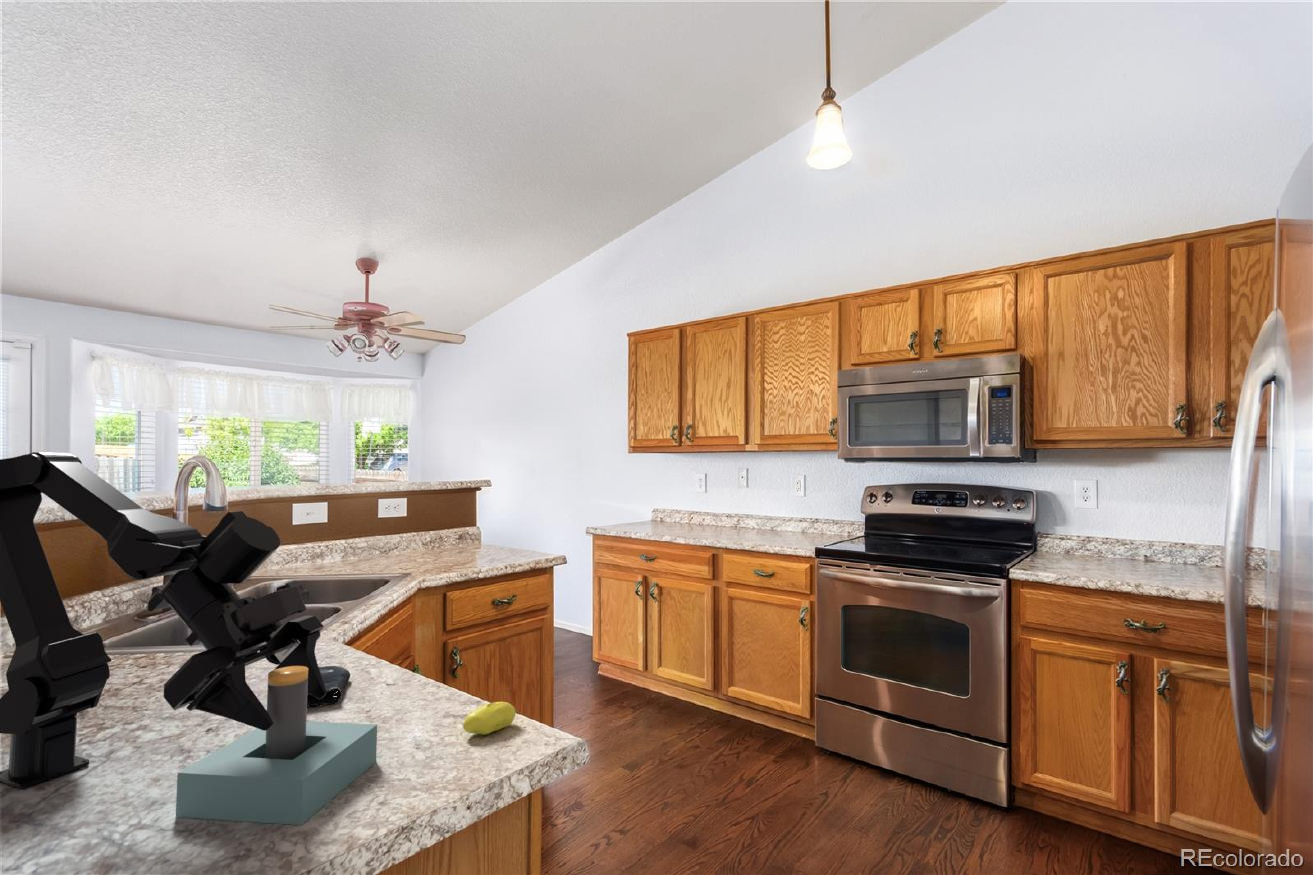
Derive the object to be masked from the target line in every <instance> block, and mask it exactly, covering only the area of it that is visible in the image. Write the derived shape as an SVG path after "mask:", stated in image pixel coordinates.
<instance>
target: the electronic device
mask: <svg viewBox="0 0 1313 875" xmlns="http://www.w3.org/2000/svg"><path fill="white" fill-rule="evenodd" d="M318 667H319V670H320V673H321V676H322V679H323V682H324V685H325V688H326V691H327V693H328V692H331V691H333V690H335V689H336V691H338V692H337V693H335V694H334V692H333V694H332V696H337V697H333V698H332V701H331V702H330V703H328V701H327V702H326V701H325V702H321V701H319V702H317V703H314V702H310V703H308V704H307V709H309V708H310V709H311V708H312V709H313V708H317V707H321V706H320V705H323V706H324V705H325V704H326V703H328V704H327V706H330V705H332V706H333V705H336V704H337V703H338V702H339V700H340V699H341V698H342V692H343V690H344V688H345V686H346V684H347V683H349V681H350V679H351V672H350V671H349V670H348V669H347V668H345V667H342V666H339V665H324V666H318ZM308 695H310V694H309V693H307V696H308ZM310 696H311V695H310ZM327 699H328V698H327ZM328 700H330V698H329V699H328ZM308 705H309V706H308Z"/></svg>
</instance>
